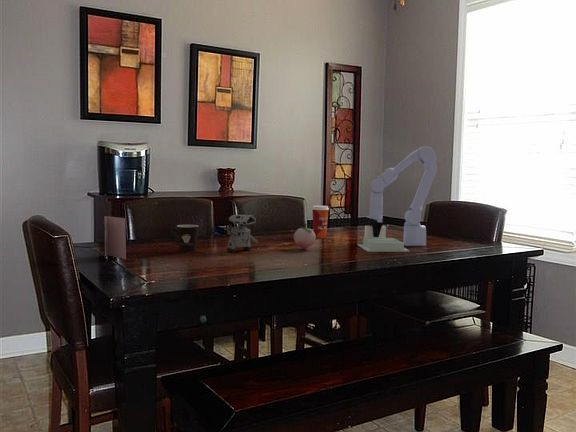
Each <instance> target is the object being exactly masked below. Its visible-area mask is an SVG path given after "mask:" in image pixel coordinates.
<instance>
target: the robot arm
mask: <svg viewBox="0 0 576 432" xmlns="http://www.w3.org/2000/svg"><path fill="white" fill-rule="evenodd" d="M417 162H421V163H422V165H423V167H424V171H423V172H424V173H423V175H422V177H421V180H420V183H419V184H418V188H417V190H416V192H415V195H414V198H413V199H412V203H411V204H410V205H409V208H408V209H407V210H406V211H405V212H404V215H403V218H404V220H405V222H404V223H403V241H402V242H404V247H405V246H406V247H410V246H411V247H412V246H417V247H421V246H422V247H423V246H427V244H426V243H427V228H426V226H425V225H423V224H422V225H421V221H422V213H423V209H424V204H425V203H426V199H427V197H428V194H429V193H430V190H431V187H432V184H433V182H434V179H435V177H436V175H437V172H438V170H439V169H438V168H439V167H438V162H437V154H436V152H435V151H434V149H433V148H432V147H431V146H429V145H425V146H420V147H419V148H417V149H415V150H414V151H412V152H410V154H408V155H407V156H405V158H404V159H402V161H401V160H400V162H399V163H397V164H396V165H395V166H394V167H388V168H385V169H384V172H381V174H380V175H379V176H378V175H377V176H376V179H373V180H372V181H371V182H370V183H369V189H370V195H369V214H368V215H367V216H366V218H367V219H369V220H367V222H368V226H372V228H373V236H374V237H379V234H380V230H381V227H382V226H384V221H383V218H384V217H383V206H384V195H383V192H384V189H385V188H386V187H388V186H389V185H390V184H391V183H393V182H394V181H395V180H396V179H398V176H399V173H400V172H402V171H403V170H404V169H406V168H407V167H408V166H410V165H412V163H417Z"/></svg>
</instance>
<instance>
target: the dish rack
mask: <svg viewBox="0 0 576 432" xmlns="http://www.w3.org/2000/svg"><path fill="white" fill-rule="evenodd" d="M357 246H358V247H360V248H361V249H363V250H364V251H366V252H367V253H369V252H370V253H373V252H374V253H379V252H380V253H381V252H383V253H384V252H386V253H387V252H388V253H389V252H390V253H391V252H393V253H400V252H401V253H403V252H404V253H407V252H408V253H410V250H409V249H407V248H406V247H405V245H404V242H403V241H401V240H399V239H397V238H395V237H386V238H365V237H363V238H362V243H357Z"/></svg>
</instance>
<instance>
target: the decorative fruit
mask: <svg viewBox="0 0 576 432" xmlns="http://www.w3.org/2000/svg"><path fill="white" fill-rule="evenodd" d="M316 239H317V238H316V235H315V233H314V232H313V229H311V228H308V227H299V228H297V229H296V230H295V232H294V233H293V240H294V243H296V245H297V246H298V247H299V248H301V250H307V249H309V248H311V247H312V246H313V245H314V244H315V241H316Z"/></svg>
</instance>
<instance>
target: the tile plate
mask: <svg viewBox="0 0 576 432" xmlns="http://www.w3.org/2000/svg"><path fill="white" fill-rule="evenodd" d="M386 234H387V226H386V225H382V227H381V230H380V234H379V237H374V236H373V228H372V226H370V225H365V226H364V238H387V235H386Z"/></svg>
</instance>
